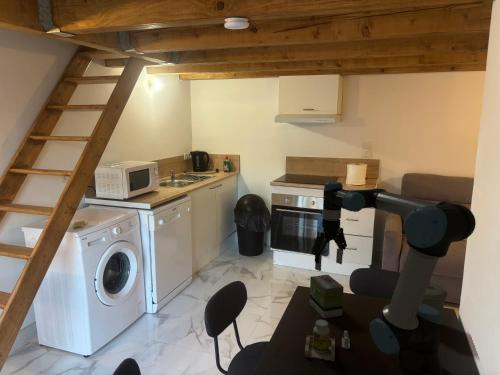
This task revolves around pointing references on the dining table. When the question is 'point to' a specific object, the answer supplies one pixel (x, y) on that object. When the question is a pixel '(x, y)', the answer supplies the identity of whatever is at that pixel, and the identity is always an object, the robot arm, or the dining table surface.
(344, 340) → the clip
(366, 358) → the dining table surface
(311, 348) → the square tray
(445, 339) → the dining table surface
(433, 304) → the canister
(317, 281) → the tea box
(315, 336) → the pill bottle
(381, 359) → the dining table surface
